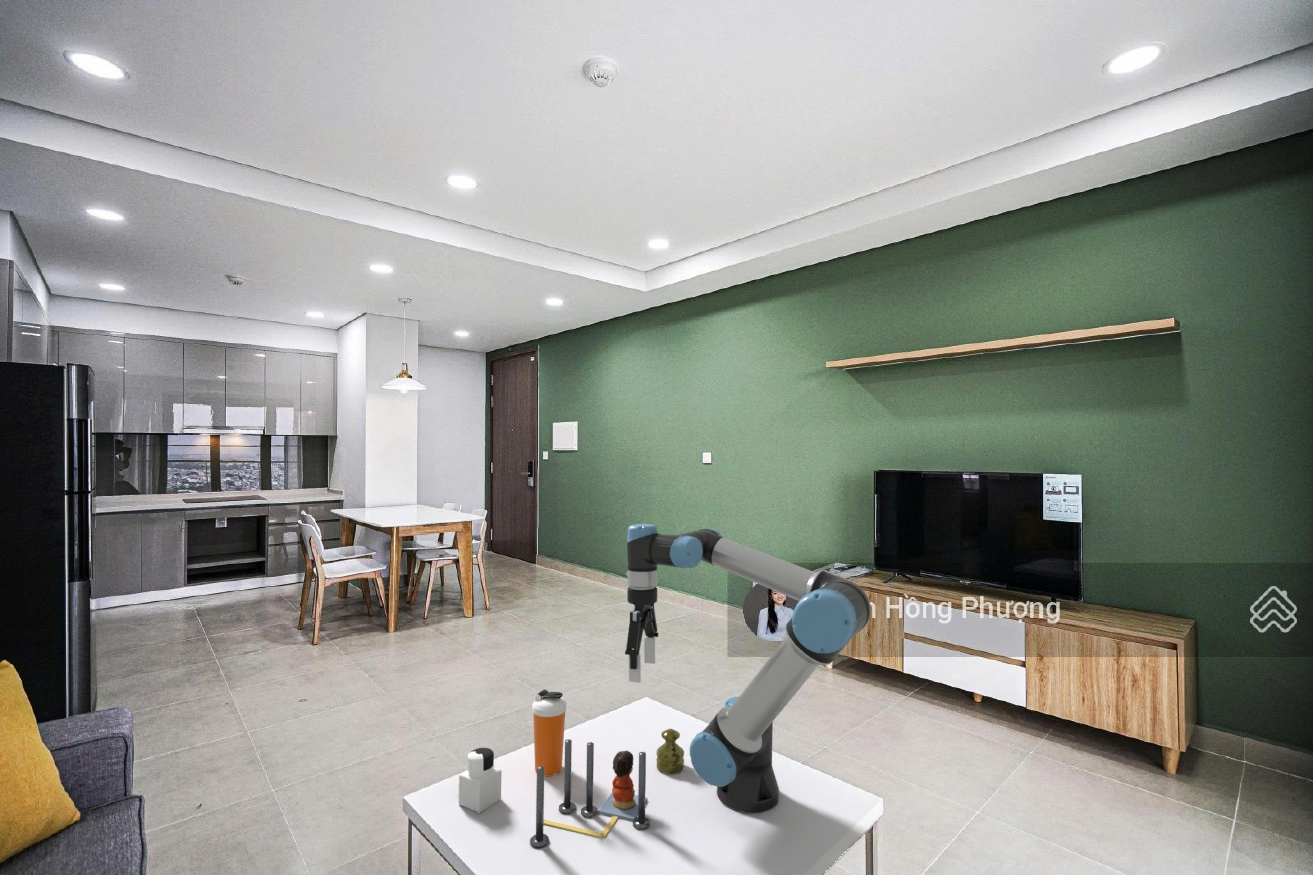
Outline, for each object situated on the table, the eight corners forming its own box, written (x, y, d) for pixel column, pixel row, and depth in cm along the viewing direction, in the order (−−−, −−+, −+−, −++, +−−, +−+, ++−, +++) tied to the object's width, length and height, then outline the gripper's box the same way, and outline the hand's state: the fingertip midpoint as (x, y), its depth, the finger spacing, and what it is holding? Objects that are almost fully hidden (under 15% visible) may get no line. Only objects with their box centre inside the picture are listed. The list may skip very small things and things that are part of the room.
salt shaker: (677, 777, 161) (677, 738, 161) (651, 770, 164) (652, 732, 164) (688, 764, 167) (688, 727, 167) (663, 758, 171) (663, 721, 171)
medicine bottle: (480, 790, 154) (481, 741, 154) (501, 799, 150) (502, 749, 150) (458, 804, 147) (458, 753, 148) (479, 814, 144) (480, 762, 144)
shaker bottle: (558, 780, 159) (559, 701, 159) (525, 775, 161) (527, 698, 161) (570, 762, 167) (571, 688, 168) (539, 759, 169) (540, 685, 170)
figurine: (638, 809, 145) (639, 758, 145) (615, 813, 144) (615, 761, 144) (631, 794, 151) (632, 745, 151) (609, 798, 150) (610, 748, 150)
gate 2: (652, 821, 142) (653, 751, 142) (646, 831, 138) (647, 759, 138) (585, 806, 147) (586, 738, 148) (577, 815, 143) (578, 746, 144)
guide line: (618, 817, 143) (618, 816, 143) (604, 838, 135) (604, 837, 135) (558, 804, 148) (558, 802, 148) (540, 823, 140) (540, 822, 140)
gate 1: (578, 806, 147) (579, 738, 148) (543, 850, 131) (544, 773, 131) (563, 802, 149) (564, 735, 149) (526, 845, 133) (527, 770, 133)
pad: (647, 800, 150) (647, 797, 150) (634, 821, 142) (634, 818, 142) (613, 793, 153) (613, 790, 153) (598, 813, 145) (598, 810, 145)
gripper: (641, 576, 168) (642, 654, 168) (612, 596, 144) (612, 688, 144) (668, 577, 166) (668, 657, 166) (643, 598, 142) (643, 691, 142)
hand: (642, 672), depth 155 cm, fingers open, 13 cm apart
